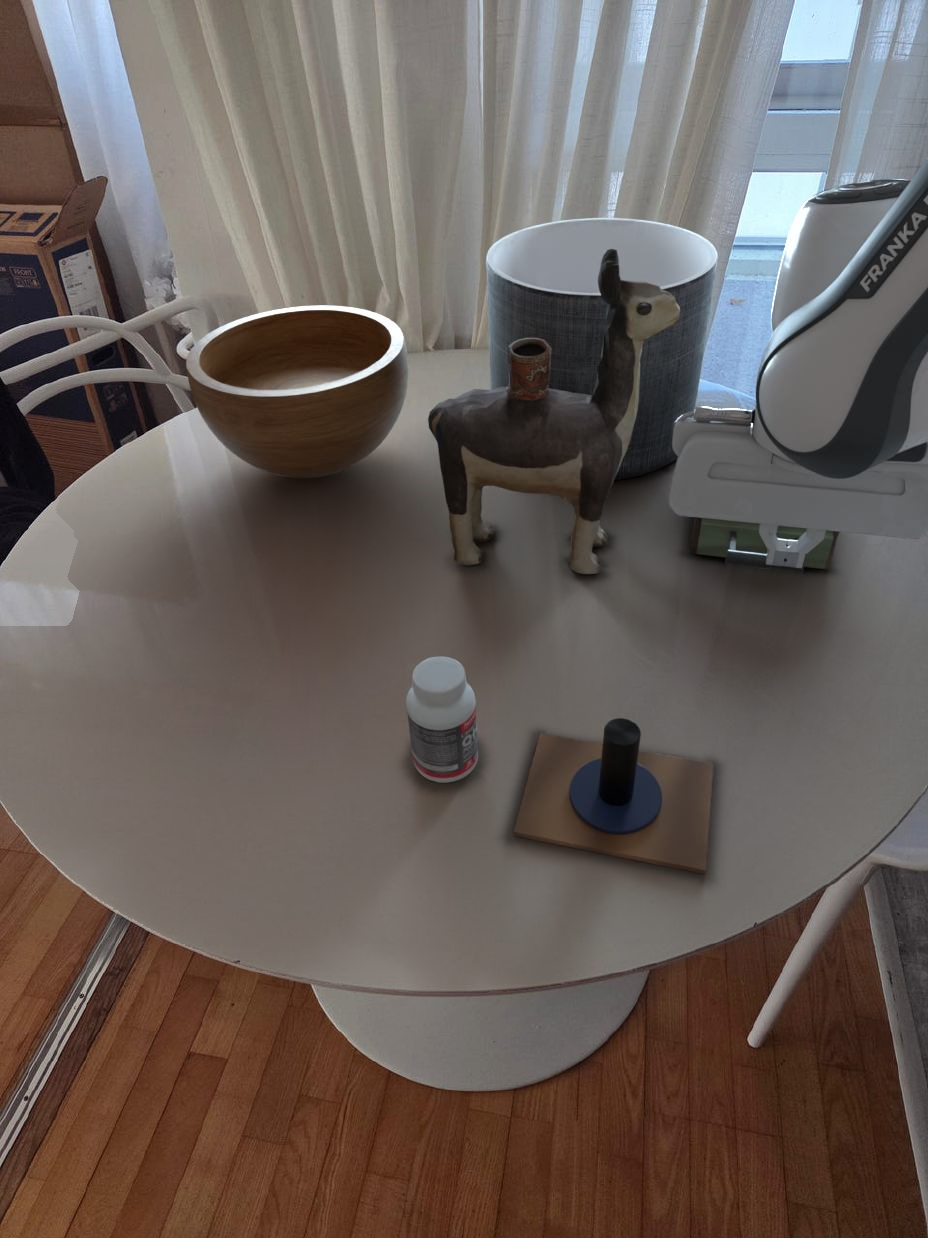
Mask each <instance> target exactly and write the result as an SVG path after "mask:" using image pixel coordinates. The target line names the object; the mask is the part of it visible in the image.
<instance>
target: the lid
mask: <svg viewBox="0 0 928 1238" xmlns="http://www.w3.org/2000/svg"><path fill="white" fill-rule="evenodd" d="M602 736H603V737H602V744H603V747H602V758H600V759H596V760H593V761H591V762H589V763H587V764H585V765H584V766H582V767H581V768H580V769H579V770H578V771H577V772H576V773H575V775H574V776H573V779H572V781H571V784H570V802H571V805H572V807H573V809H574V811H575V812H576V814H577V815H578V816H579V818H580V819H581V820H582V821H584V822H585V823H586V824H587V825H589V826H591V827H592V828H594V829H596V830H599V831H601V832H605V833H609V834H618V835H623V834H631V833H635V832H638V831H640V830H642V829H644V828H646V827H647V826H649V825H650V824H651V823H652V822H653V821H654V820H655V819H656V818H657V816H658V814H659V812H660V809H661V805H662V791H661V788H660V785H659V783H658V781H657V780H656V778H655V777H654V776H653V775H652V773H651V772H649V771H648V770H647V769H646V768H644V767H643V766H641V765H640V764H638V763H637V760H638V752H639V750H640V744H641V738H642V737H641V736H642V731H641V728H640V727H639V725H638V724H637V723H636V722H634V721H633V720H631V719H628V718H623V717H618V718H613V719H611V720H609V721H608V722H607V723H606V724H605V726H604V728H603V735H602Z"/></svg>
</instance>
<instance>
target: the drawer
mask: <svg viewBox="0 0 928 1238" xmlns="http://www.w3.org/2000/svg"><path fill="white" fill-rule="evenodd" d="M805 532H806V528H798V527H788V526H778V528H777V532H776V536H777V538H778V539H785V540H796V541H797V540H798V539H799V538H800V537H801V536H802V535H803V534H804V533H805ZM832 541H833V531H827V530H826V532H825V536H824V539H823V540H822V541H821V542H820V543H819V544H818V545H816V546H815V547H814V548H813V549H812V550H811V551H809V552H808V553H807V554H806V553H805V558H804V562H803V566H802V568H794V567H786V566H775V565H767V564H766V555H767V547H766V545H765V543H764V541H763V540H762V538H761V536H760V534H759V524H758V523H748V522H738V521H728V520H718V519H708V518H702V521H701V527H700V533H699V539H698V545H697V554H696V555H700V554H703V555H702V556H709V555H711V557H717V556H720V557H719V558H725V563H724V564H725V565H731V566H739V567H747V568H757V569H765V570H774V571H781V572H790V573H798V574H802V573H803V572H804V568H810V567H813V568H812V569H819V568H821V569H820V570H825V569H824V568H825V565H826V562H827V558H828V555H829V551H830V548H831V545H832Z"/></svg>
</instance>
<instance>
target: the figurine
mask: <svg viewBox="0 0 928 1238" xmlns="http://www.w3.org/2000/svg"><path fill="white" fill-rule="evenodd" d="M598 287H599V291H600V294H601V296H602V298H603V299H604V301H605V302H606V303H607V309H606V326H605V332H604V340H603V345H602V355H601V361H600V364H599V366H598V368H597V379H596V384H595V389H594V393H593V395H587V394H579V393H572V392H568V391H563V390H556V389H550V388H548V386H549V379H550V368H551V351H552V349H551V346H550V345H549V344H548V343H547V342H546V341H545V340H543V339H539V338H524V339H519V340H517V341H514V342H512V343H511V344H510V345H509V346H508V367H509V384H508V387H499V388H495V389H491V388H490V389H482V388H481V389H478V388H474V389H471V390H468V391H466V392H464V393H462V394H460V395H458V396H456V397H455V398H454V397H453V398H447V399H445V400H443V401H441V402H439V403H437V404H436V405H435V406H434V407H433V408H432V409H431V410H430V411H429V413H428V417H427V423H428V429H429V431H430V432H431V434H432V436H433V438H434V439H435V441H436V443H437V450H438V458H439V467H440V472H441V478H442V484H443V490H444V497H445V502H446V507H447V510H448V521H449V530H450V535H451V542H452V548H453V551H454V552H453V560H454V562H455V563H456V564H458V565H462V566H469V567H470V566H475V565H478V564H480V563H481V562H482V555H483V550H482V549H481V548H479V547H478V546H477V543H478V544H479V543H483V542H487V541H490V540H491V539H493V538H494V536H495V534H496V529H495V528H494V527H493V526H492V525H489V524H488V523H486V522H485V521H484V520H483V518H482V509H483V505H482V503H483V502H482V499H483V498H482V497H483V488H484V487H497V488H499V489H503V490H508V491H511V492H516V493H521V494H530V495H549V496H550V495H551V496H554V497H558V498H561V499H565V500H566V501H567V502H568V504H570V505H571V506H572V509H573V513H574V519H573V523H572V529H571V537H570V545H569V548H570V549H569V557H568V562H567V565H568V568H569V569H570V570H571V571H572V572H574V573H577V574H581V575H593V574H600V573H602V567H601V564H602V561H601V560H600V559H599V557H598V556H597V555H596V554H595V553H593V551H592V550H593V548H598V549H599V548H603V547H606V546H608V539H609V537H608V535H607V532H605V530H604V529H603V528H602V527H601V526H600V523H601V517H602V514H603V510H604V507H605V504H606V502H607V499H608V497H609V494H610V492H611V491H612V487H613V484H614V481H615V480H614V479H615V477H616V475H617V472H618V470H619V467H620V465H621V462H622V460H623V457H624V455H625V453H626V451H627V448H628V445H629V442H630V439H631V434H632V430H633V426H634V423H635V419H636V414H637V410H638V403H639V384H640V357H641V354H642V345H643V342H644V340H645V339H647V338H649V337H651V336H653V335H655V334H657V333H659V332H661V331H663V330H665V329H667V328H669V327H671V326H673V325H675V324H677V322H678V319H679V315H680V307H679V305H678V304H677V303H676V300H675V297H674V296H673V295H672V294H671V293H669V292H667V291H665V290H663V289H661V288H660V287H659V286H656V285H653V284H649V283H647V282H637V281H625V280H621V279H620V272H619V258H618V253H617V250H614V249H609V250H607V251H606V253H605V254H604V256H603V258H602V261H601V266H600V271H599V275H598ZM475 543H476V544H475Z"/></svg>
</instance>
